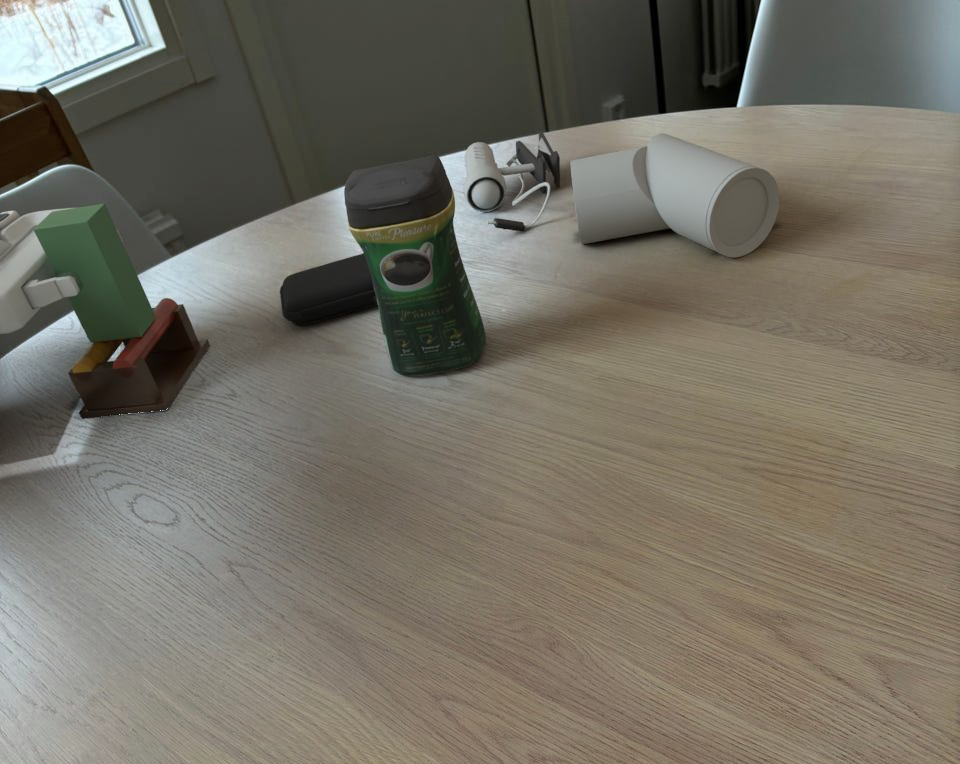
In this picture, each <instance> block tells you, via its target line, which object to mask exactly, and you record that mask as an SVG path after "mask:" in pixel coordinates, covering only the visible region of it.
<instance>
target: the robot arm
mask: <svg viewBox="0 0 960 764" xmlns="http://www.w3.org/2000/svg"><path fill="white" fill-rule="evenodd" d="M72 208H73V207H66V208H65V207H64V208H55V209H46V210H39V211H38V210H37V211H32V212H29V213H25V214H23V215H21V216H20V215H19V213H18V212H17V211H16V210H7V211H3V212H1V213H0V335H4V334H6V335H7V334H11V333H14V332H16V331H18V330H20V329H23V328H24V327H25V326H26V325H27V323H28V322H29V321H30V320H31V319H32V318H33V317H34V316H35V314H36V313H37V312H38V311H39V310H41V308H43V307H46V306H48V305H50V304H52V303H55V302H57V301H59V300H62V299H64V298H67V297H71V296H76V295H77V294H78V293H79V292H80V291H81V290H82V288H83V286H84V285H83V282H82V281H81V280H80V276H79V274H78V273H76V272H74V271H73V272H69V273H67V272H65V273H61V274H60V275H59V276H58V277H57V276H56V274H55V272H54V270H53V268H52V266H51V264H50V262H49V260H48V258H47V256H46V254H45V252H44V250H43V248H42V246H41V244H40V242H39V240H38V238H37V236H36V234H35V232H34V230H33V229H34V228H35V227H36V226H37V225H38V224H39V223H40V222H41V221H43V220H44V219H45V218H46V217H47V216H48V215H49V214H50V213H51V212H53V211H59V210H66V209H72ZM117 231H118V234H119V236H120V238H121V240H122V242H123V238H122V236H121V234H120V231H119V229H117ZM123 243H124V242H123Z"/></svg>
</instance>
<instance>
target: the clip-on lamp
mask: <svg viewBox="0 0 960 764" xmlns="http://www.w3.org/2000/svg"><path fill="white" fill-rule="evenodd" d="M560 161H561V158H560V154H559V153H558V150H555V151H554V150H553V147H552V146H551V144H550V143H549V141H548V138H547V136H546V135H545V133H544V132H543V131H542V132H539V133H538V143H537V144H531V143H527V142H523V141H521V140H518V141H517V140H516V142H515V154H514V155H513V156H512V157H511V158H510V159H509V160H508V161H507V162H506V165H507V166H503V167H498V164H497V162H496V160H495V155H494V151H493V149H492V148H491V146H490V145H489V144H487V143H486V142H484V141H483V142H481V141H476V142H473V143H472V144H470V145H469V146H468V147H467V149H466V151H465V152H464V164H465V171H466V177H465V179H464V182H463V194H464V198H465V201H466V202H467V203H468V205H469V206H470V207H471V208H472V209H473V210H475V211H477V212H481V213H488V212H492V211H495V210H496V209H498V208H499V207H500V206H501V205H502V204H503V203H504V201H505V198H506V196H507V183H506V179H505V176H513V175H518V177H519V180H520V181H521V185H522V186H521V189H520V191H519V193H518V194H517V196H516V197H515V198H514V199H513V200H512V206H513V207H514V206H516V205H517V204H519V203H521V202H522V201H523V200H524V199H526V198H527V197H528V196H530V195H531V194H532V193H534V192H536V191H538V190H539V191H540V192H541V194H542V195H543V194H546V196H545V200H544V203H543V204H542V206H541V209H540V211H539V212H538V214H537V216H536V217H535V218H534V219H533V220H532V222H531V223H529V224H527V225H525V223H524V222H523V221H518V220H513V219H512V220H511V219H506V218H499V217H495V218H493V221H487V225H493V226H494V227H495V229H500V230H501V229H502V230H504V231H505V230H508V231H512V232H515V231H516V232H520V233H523V232H524V231H525V230H526V229H529V228H530V227H533V226H534V225H535V224H536V223H537V222H538V221H539V219H540V218H541V216H542V214H543V213H544V211H545V209H546V206H547V205H548V203H549V199H550V195H551V188H552V187H551V184H550V183H549V182H547V172H548V173H549V174H551V175H552V177H553V184H554V186H555V187H556V188H561V163H560ZM513 164H515V165H513ZM526 173H529V174H530V175H531V176H532V177H533V179H535V181H536V182H537V183H538V184H536V185H535V186H533V187H531V188H530V189H528V190H527V191H526V192H524V191H525V186H526V185H525V181H524V174H526Z"/></svg>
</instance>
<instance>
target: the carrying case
mask: <svg viewBox="0 0 960 764" xmlns="http://www.w3.org/2000/svg"><path fill="white" fill-rule="evenodd" d="M279 296H280V305H281V314H282V316H283V318H284V319H285V320H286V321H288V322H289V323H290V322H291V323H292V324H294V325H296V326H306V325H309V324H314V323H317V322H321V321H324V320H328V319H331V318H335V317H338V316H342V315H345V314H349V313H352V312H357V311H360V310H363V309H366V308H370V307H373V306H378V304H377V299H376V294H375V290H374V285H373V281H372V277H371V274H370V270H369V267H368V264H367V261H366V258H365V255H364V253H360V254H355V255H352V256H349V257H345V258H342V259H339V260H334V261H332V262H328V263H325V264H322V265H318V266H313V267H311V268H308V269H304V270H301V271H297V272H295V273H292V274H290V275H288V276H286V277H285V278H284V280H283V282H282V285H281V286H280V288H279Z"/></svg>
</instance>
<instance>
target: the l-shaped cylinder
mask: <svg viewBox="0 0 960 764" xmlns="http://www.w3.org/2000/svg"><path fill="white" fill-rule="evenodd" d="M570 174H571V175H570V176H571V184H572V192H573V193H572V194H573V201H574V202H573V203H574V208H575V216H576V223H577V224H576V225H577V229H578V235H579V241H580V244H581V245H585V244H591V243H596V242H603V241H607V240H612V239H613V240H614V239H619V238H625V237H629V236H635V235H641V234H646V233H653V232H657V231H658V232H659V231H662V230H663V231H664V230H669V229H671V230H672V231H673V232H675V234H677V235H680V236H681V237H684V238H686V239H688V240H690V241H692V242H694V243H697V244H699V245H701V246H703V247H705V248H707V249H709V250H712V251H713V252H716V253H718V254H720V255H723V256H724V257H728V258H735V259H736V258H741V257H744V256H746V255H748V254H750V253H752V252H753V251H755V250H756V249H757V248H758V247H759V246H761V244H762V243H764V241H765V240H766V238H767V237H768V236H769V234H770V232H771V231H772V229H773V227H774V225H775V223H776V220H777V217H778V214H779V209H780V190H779V186H778V182H777V181H776V179H775V177H774V176H773V174H771V173H770V172H769V170H766V169H764V168H761V167H759V166H756V165H753V164H751V163H748V162H744V161H742V160H739V159H736V158H734V157H731V156H729V155H725V154H722V153H720V152H717V151H714V150H712V149H710V148H706V147H704V146H701V145H697V144H695V143H693V142H689V141H687V140H684V139H681V138H678V137H675V136H673V135H670V134H667V133H657V134H655V135H654V136H652V137H651V139H650V140H649V141H648V144H647V145H645V146H639V147H634V148H629V149H624V150H619V151H614V152H613V151H612V152H608V153H603V154H597V155H593V156H589V157H582V158H578V159H573V160H570Z"/></svg>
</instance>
